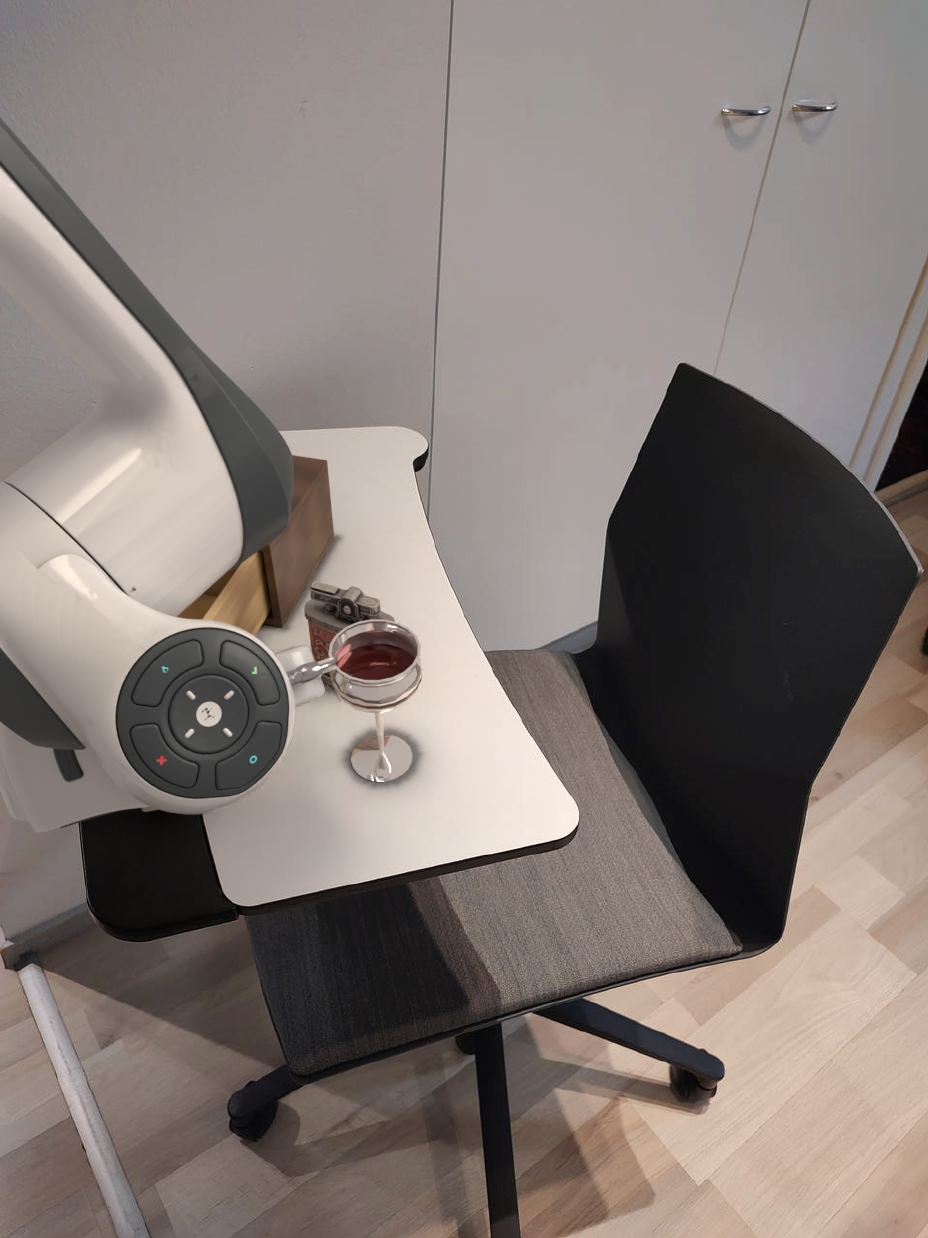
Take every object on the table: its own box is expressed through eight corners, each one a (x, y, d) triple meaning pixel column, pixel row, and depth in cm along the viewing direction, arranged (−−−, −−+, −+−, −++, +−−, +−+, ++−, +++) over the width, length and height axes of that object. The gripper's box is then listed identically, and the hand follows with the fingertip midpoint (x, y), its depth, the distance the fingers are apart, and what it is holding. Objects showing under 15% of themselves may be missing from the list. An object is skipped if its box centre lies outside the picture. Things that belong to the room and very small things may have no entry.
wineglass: (351, 721, 74) (341, 613, 66) (430, 731, 74) (429, 624, 66) (329, 784, 69) (316, 676, 61) (414, 796, 69) (411, 689, 61)
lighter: (404, 678, 78) (401, 591, 72) (387, 704, 76) (383, 616, 69) (323, 654, 80) (313, 567, 74) (305, 678, 78) (293, 591, 71)
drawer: (212, 723, 73) (195, 655, 68) (98, 700, 74) (72, 632, 69) (280, 610, 83) (270, 543, 78) (179, 592, 85) (162, 526, 80)
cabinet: (282, 627, 83) (269, 545, 77) (169, 607, 85) (147, 525, 78) (334, 538, 94) (327, 459, 87) (233, 522, 96) (218, 443, 89)
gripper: (327, 610, 54) (283, 634, 67) (-38, 734, 46) (-9, 735, 58) (362, 707, 54) (311, 713, 67) (4, 848, 46) (24, 824, 58)
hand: (159, 724), depth 62 cm, fingers closed on box, 5 cm apart
